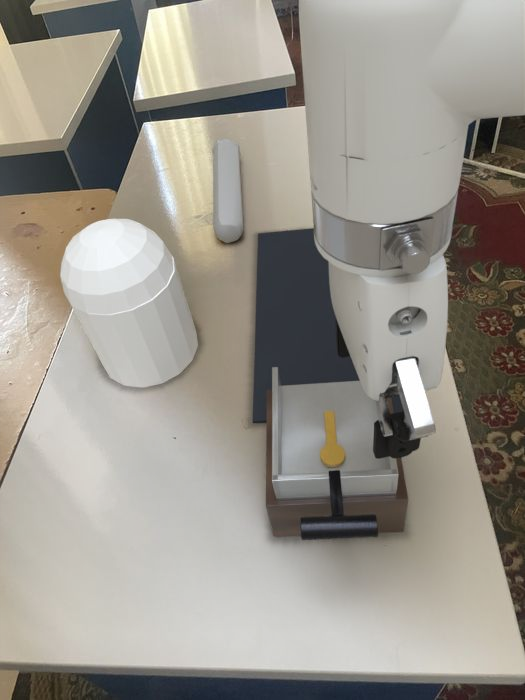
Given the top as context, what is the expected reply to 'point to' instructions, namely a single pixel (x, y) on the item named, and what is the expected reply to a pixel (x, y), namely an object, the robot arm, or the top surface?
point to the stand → (290, 511)
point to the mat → (295, 318)
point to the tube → (227, 191)
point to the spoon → (331, 443)
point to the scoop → (304, 454)
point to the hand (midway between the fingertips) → (374, 397)
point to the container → (129, 301)
